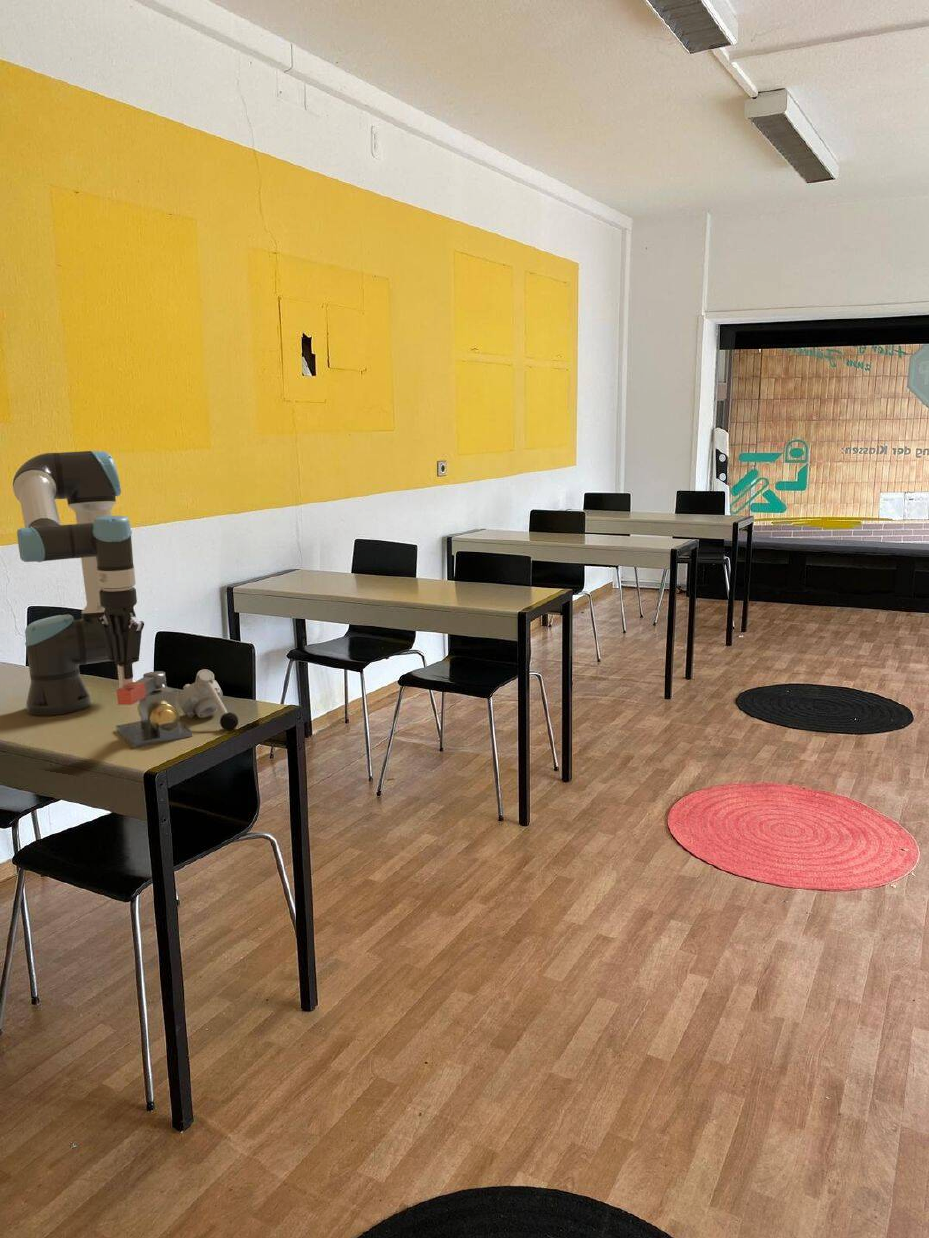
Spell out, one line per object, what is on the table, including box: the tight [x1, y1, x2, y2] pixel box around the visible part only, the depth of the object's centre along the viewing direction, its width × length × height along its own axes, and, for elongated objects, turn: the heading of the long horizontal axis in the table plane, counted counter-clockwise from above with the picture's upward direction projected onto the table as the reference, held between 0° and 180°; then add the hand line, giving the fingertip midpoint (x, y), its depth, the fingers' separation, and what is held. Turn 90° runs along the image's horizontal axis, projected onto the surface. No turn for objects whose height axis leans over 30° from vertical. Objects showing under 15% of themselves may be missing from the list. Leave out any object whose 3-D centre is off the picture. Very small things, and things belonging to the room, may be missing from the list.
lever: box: [116, 670, 167, 706], centre depth 210 cm, size 5×16×3 cm, turn 171°
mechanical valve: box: [177, 668, 239, 731], centre depth 225 cm, size 10×18×15 cm
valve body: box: [115, 685, 193, 749], centre depth 216 cm, size 16×13×11 cm
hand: (126, 692), depth 208 cm, fingers closed
